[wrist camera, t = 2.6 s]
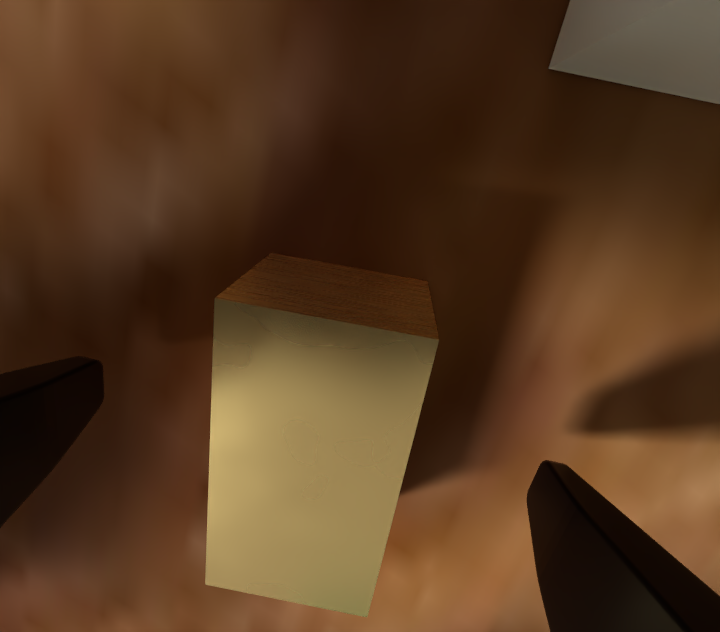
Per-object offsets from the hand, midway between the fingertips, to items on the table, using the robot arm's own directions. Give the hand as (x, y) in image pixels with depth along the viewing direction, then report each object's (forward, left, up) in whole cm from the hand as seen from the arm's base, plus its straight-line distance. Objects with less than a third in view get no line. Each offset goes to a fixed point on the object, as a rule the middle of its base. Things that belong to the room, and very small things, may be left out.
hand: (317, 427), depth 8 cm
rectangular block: (0, 0, -2) cm, 2 cm away
